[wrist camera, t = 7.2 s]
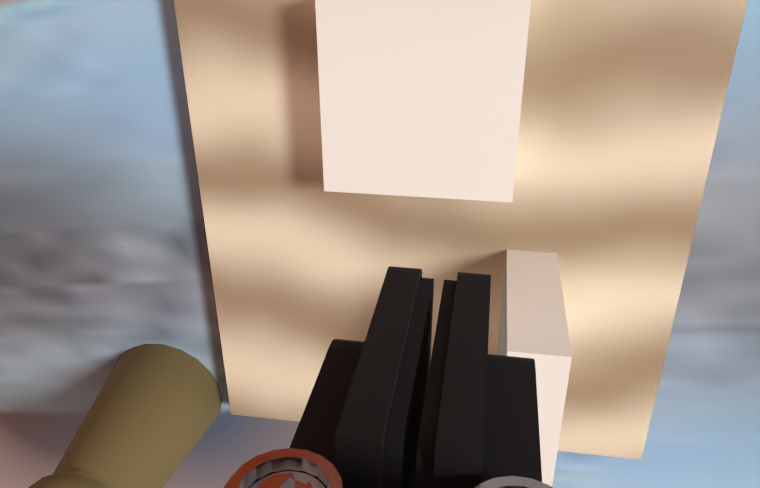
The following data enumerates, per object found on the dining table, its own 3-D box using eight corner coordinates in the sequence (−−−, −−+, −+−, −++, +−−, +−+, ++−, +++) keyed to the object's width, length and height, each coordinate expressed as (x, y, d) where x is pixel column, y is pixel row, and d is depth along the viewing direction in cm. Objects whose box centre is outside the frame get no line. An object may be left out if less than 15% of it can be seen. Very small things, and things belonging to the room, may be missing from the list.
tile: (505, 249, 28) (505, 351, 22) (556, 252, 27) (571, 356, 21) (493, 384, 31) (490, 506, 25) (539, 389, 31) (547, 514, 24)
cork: (174, 327, 34) (43, 499, 24) (243, 413, 36) (148, 604, 26) (91, 367, 36) (-59, 540, 27) (161, 446, 38) (45, 634, 28)
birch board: (171, -122, 24) (156, -123, 23) (764, -128, 22) (778, -130, 20) (238, 398, 35) (230, 414, 34) (636, 441, 33) (641, 459, 32)
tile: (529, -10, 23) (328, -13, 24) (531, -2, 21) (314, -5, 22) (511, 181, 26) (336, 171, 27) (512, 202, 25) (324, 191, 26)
